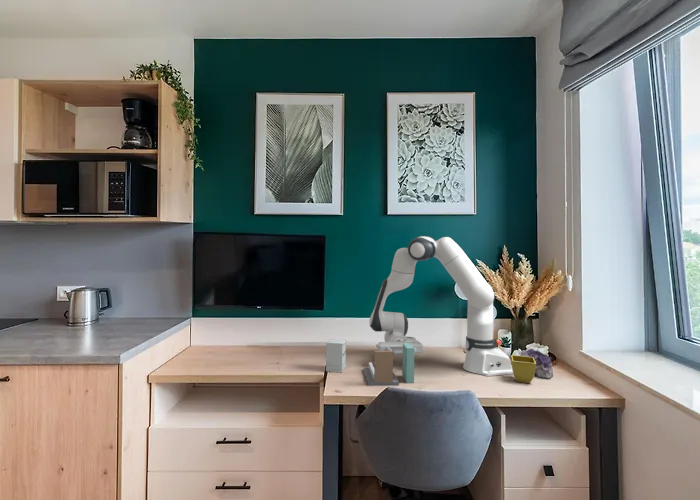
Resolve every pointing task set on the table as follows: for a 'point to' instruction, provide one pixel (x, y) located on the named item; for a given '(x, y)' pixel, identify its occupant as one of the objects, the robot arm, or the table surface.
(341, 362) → the supplement box
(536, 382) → the table surface
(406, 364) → the teal rectangular block
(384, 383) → the track base
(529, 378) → the flower pot
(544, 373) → the geode
